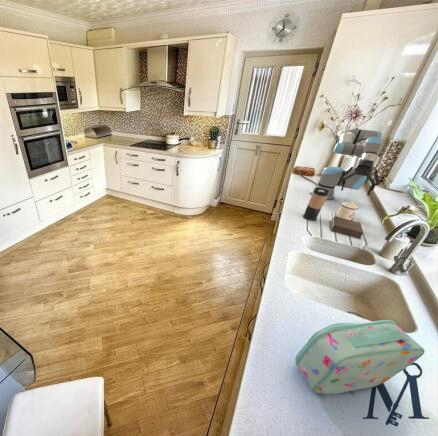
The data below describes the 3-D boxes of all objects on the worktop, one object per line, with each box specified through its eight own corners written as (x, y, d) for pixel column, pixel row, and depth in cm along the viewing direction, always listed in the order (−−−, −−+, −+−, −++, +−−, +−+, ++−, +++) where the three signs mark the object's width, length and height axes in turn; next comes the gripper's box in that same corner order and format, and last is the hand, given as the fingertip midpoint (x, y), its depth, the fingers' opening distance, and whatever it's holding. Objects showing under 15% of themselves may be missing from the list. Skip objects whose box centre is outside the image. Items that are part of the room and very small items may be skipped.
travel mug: (315, 216, 157) (328, 189, 146) (316, 221, 151) (330, 193, 140) (302, 213, 159) (314, 186, 149) (303, 218, 153) (315, 191, 143)
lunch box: (359, 351, 76) (397, 308, 65) (392, 386, 68) (442, 343, 57) (286, 362, 72) (314, 318, 61) (311, 401, 63) (348, 357, 53)
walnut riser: (330, 221, 152) (333, 215, 150) (357, 228, 146) (360, 222, 144) (331, 230, 142) (334, 225, 140) (359, 238, 135) (363, 232, 133)
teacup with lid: (350, 222, 152) (359, 206, 146) (334, 216, 157) (342, 201, 152) (353, 216, 160) (361, 200, 154) (337, 211, 165) (345, 196, 159)
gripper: (343, 156, 155) (332, 187, 156) (394, 162, 141) (381, 196, 142) (341, 160, 161) (330, 189, 162) (390, 166, 147) (378, 198, 148)
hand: (354, 192), depth 152 cm, fingers open, 13 cm apart
